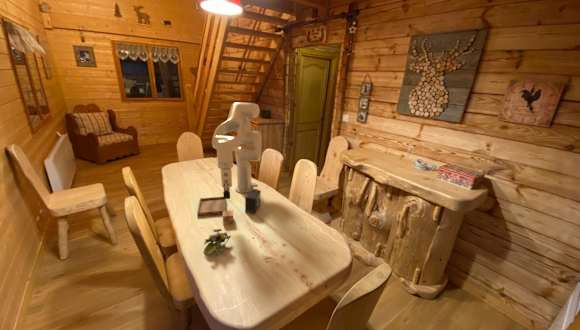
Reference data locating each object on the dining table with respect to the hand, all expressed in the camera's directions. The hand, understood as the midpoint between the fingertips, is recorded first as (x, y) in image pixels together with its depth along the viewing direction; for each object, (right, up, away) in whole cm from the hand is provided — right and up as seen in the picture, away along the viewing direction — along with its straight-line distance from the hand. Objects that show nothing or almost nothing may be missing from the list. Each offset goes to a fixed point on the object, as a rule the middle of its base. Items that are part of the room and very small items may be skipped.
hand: (226, 194), depth 125 cm
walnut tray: (-14, -11, +19) cm, 26 cm away
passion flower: (0, -24, -15) cm, 28 cm away
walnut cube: (-1, -16, +6) cm, 17 cm away
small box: (+11, -12, +20) cm, 26 cm away
